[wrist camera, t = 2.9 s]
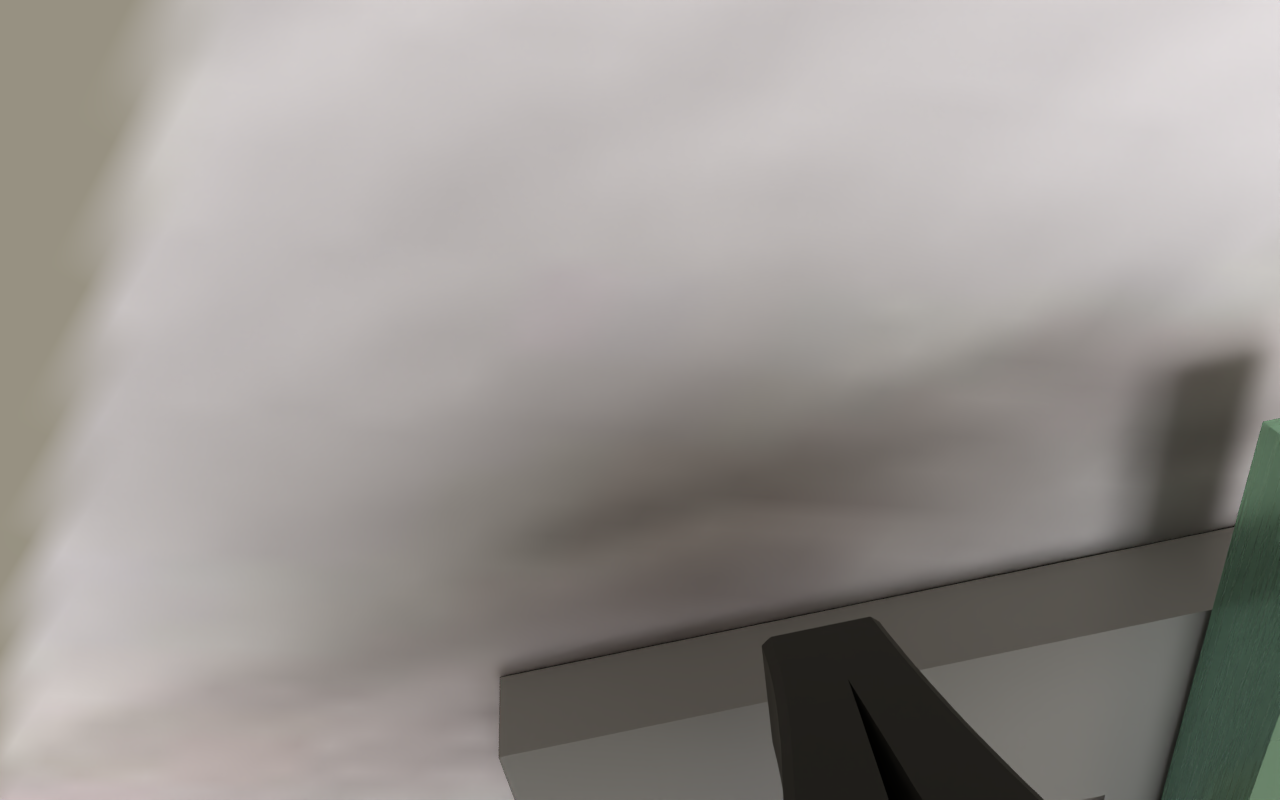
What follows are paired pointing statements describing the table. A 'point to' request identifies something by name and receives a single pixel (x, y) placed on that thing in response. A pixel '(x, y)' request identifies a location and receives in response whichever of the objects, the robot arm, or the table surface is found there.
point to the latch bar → (1239, 657)
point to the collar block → (938, 646)
